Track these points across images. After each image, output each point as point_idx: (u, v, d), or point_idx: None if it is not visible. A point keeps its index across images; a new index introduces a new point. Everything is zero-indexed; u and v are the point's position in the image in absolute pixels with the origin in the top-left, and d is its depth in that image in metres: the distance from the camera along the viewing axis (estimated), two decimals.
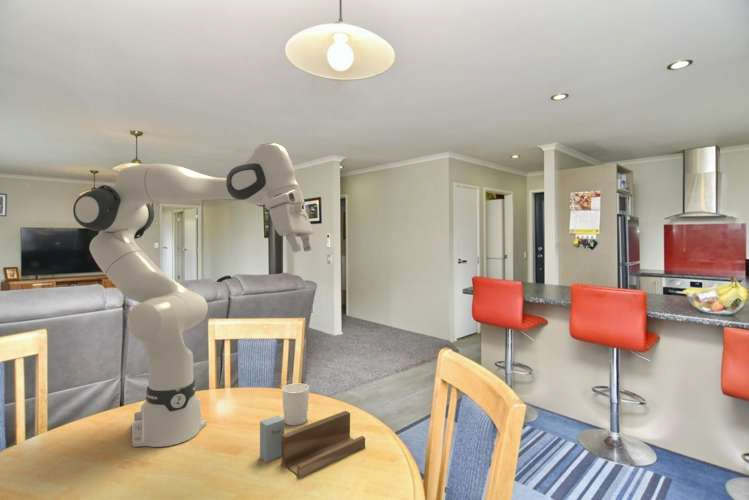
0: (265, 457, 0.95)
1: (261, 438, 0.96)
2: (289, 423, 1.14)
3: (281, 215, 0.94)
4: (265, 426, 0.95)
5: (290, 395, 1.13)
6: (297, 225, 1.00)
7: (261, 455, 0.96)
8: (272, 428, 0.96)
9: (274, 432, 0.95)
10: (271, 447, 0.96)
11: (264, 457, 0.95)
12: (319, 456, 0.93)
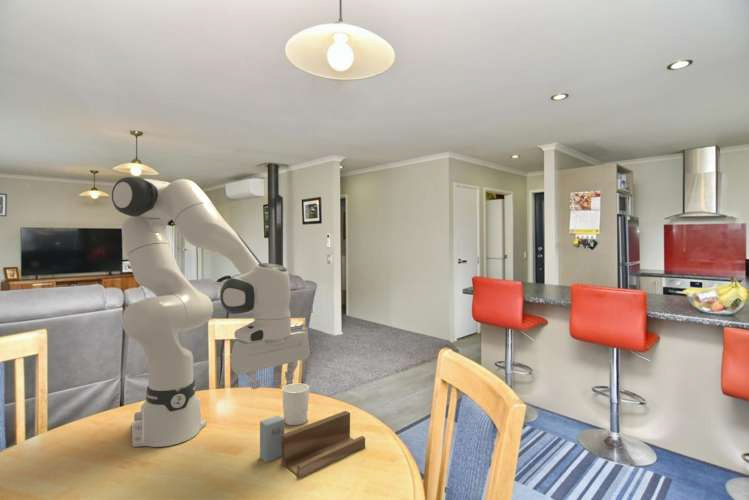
0: (265, 457, 0.95)
1: (261, 438, 0.96)
2: (289, 423, 1.14)
3: (236, 355, 0.90)
4: (265, 426, 0.95)
5: (290, 395, 1.13)
6: (263, 362, 0.94)
7: (261, 455, 0.96)
8: (272, 428, 0.96)
9: (274, 432, 0.95)
10: (271, 447, 0.96)
11: (264, 457, 0.95)
12: (319, 456, 0.93)
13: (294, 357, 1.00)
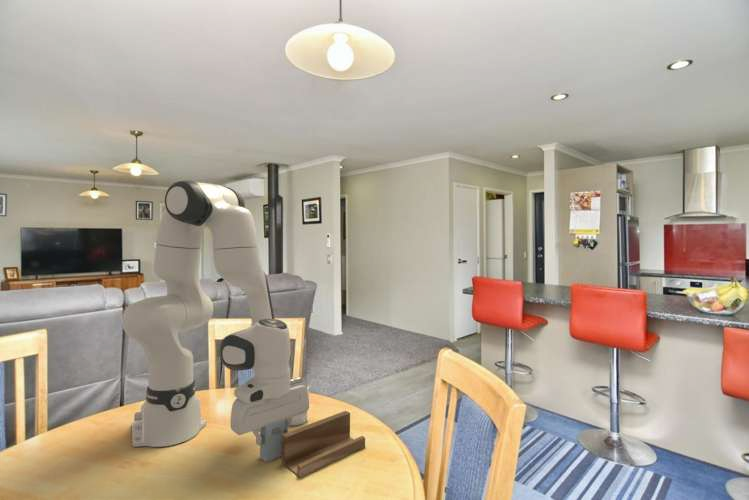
0: (265, 457, 0.95)
1: None
2: None
3: (235, 415, 0.90)
4: (265, 426, 0.95)
5: None
6: (263, 420, 0.94)
7: (261, 455, 0.96)
8: (272, 428, 0.96)
9: (274, 432, 0.95)
10: (271, 447, 0.96)
11: (264, 457, 0.95)
12: (319, 456, 0.93)
13: (293, 412, 1.00)
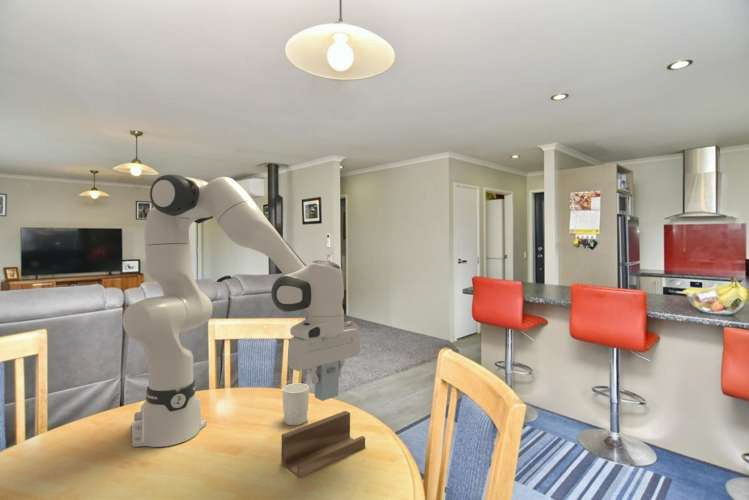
0: (321, 396, 0.95)
1: None
2: (289, 423, 1.14)
3: (294, 351, 0.90)
4: (321, 365, 0.95)
5: (290, 395, 1.13)
6: (319, 358, 0.94)
7: (316, 395, 0.97)
8: (327, 367, 0.96)
9: (329, 371, 0.96)
10: (326, 386, 0.96)
11: (320, 396, 0.95)
12: (319, 456, 0.93)
13: (346, 354, 1.00)
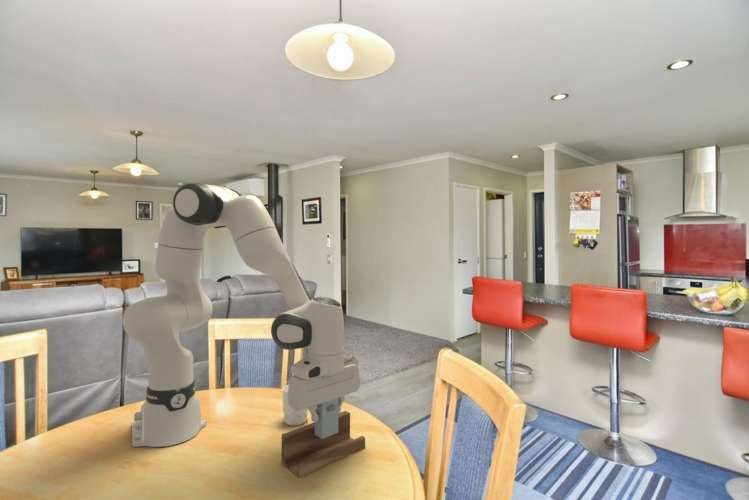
0: (321, 434, 0.95)
1: None
2: (289, 423, 1.14)
3: (294, 391, 0.91)
4: (321, 403, 0.95)
5: None
6: (319, 397, 0.94)
7: (316, 432, 0.97)
8: (327, 405, 0.96)
9: (329, 409, 0.96)
10: (326, 424, 0.96)
11: (320, 434, 0.96)
12: (319, 456, 0.93)
13: (346, 390, 1.00)
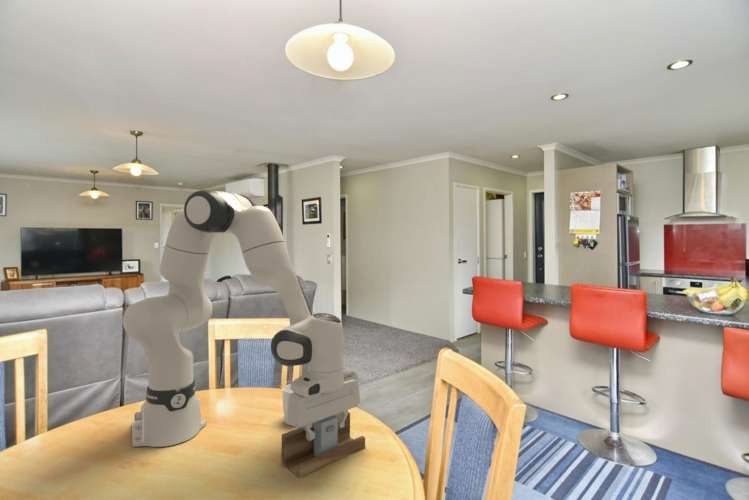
0: None
1: (316, 436, 0.97)
2: (289, 423, 1.14)
3: (294, 409, 0.91)
4: (320, 424, 0.95)
5: None
6: (318, 414, 0.94)
7: (315, 453, 0.97)
8: (326, 426, 0.96)
9: (329, 430, 0.96)
10: (325, 445, 0.96)
11: None
12: (319, 456, 0.93)
13: (346, 406, 1.00)
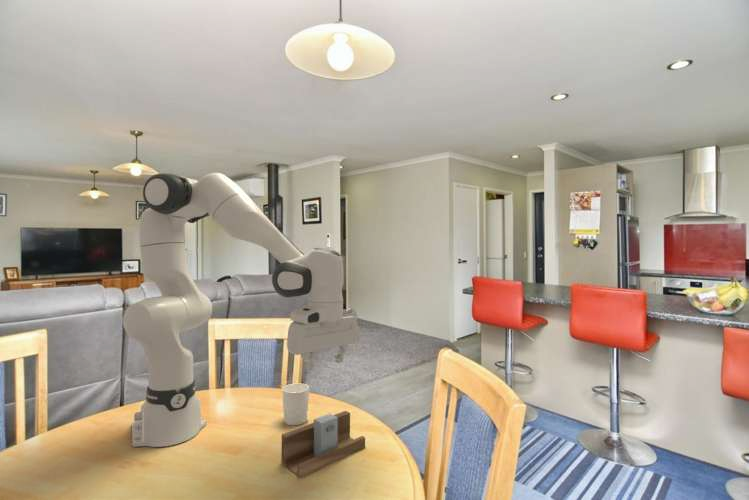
0: None
1: (316, 436, 0.97)
2: (289, 423, 1.14)
3: (293, 336, 0.92)
4: (320, 424, 0.95)
5: (290, 395, 1.13)
6: (317, 343, 0.96)
7: (315, 453, 0.97)
8: (326, 426, 0.96)
9: (329, 430, 0.96)
10: (325, 445, 0.96)
11: None
12: (319, 456, 0.93)
13: (345, 340, 1.02)
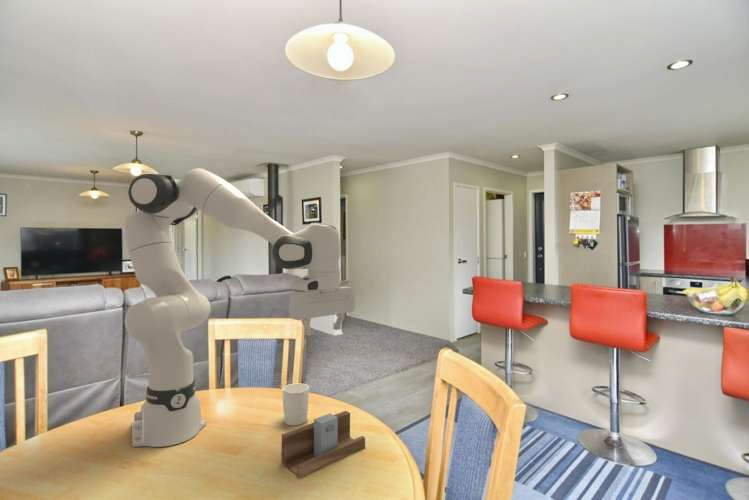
0: None
1: (316, 436, 0.97)
2: (289, 423, 1.14)
3: (294, 302, 1.00)
4: (320, 424, 0.95)
5: (290, 395, 1.13)
6: (317, 310, 1.03)
7: (315, 453, 0.97)
8: (326, 426, 0.96)
9: (329, 430, 0.96)
10: (325, 445, 0.96)
11: None
12: (319, 456, 0.93)
13: (342, 309, 1.09)
